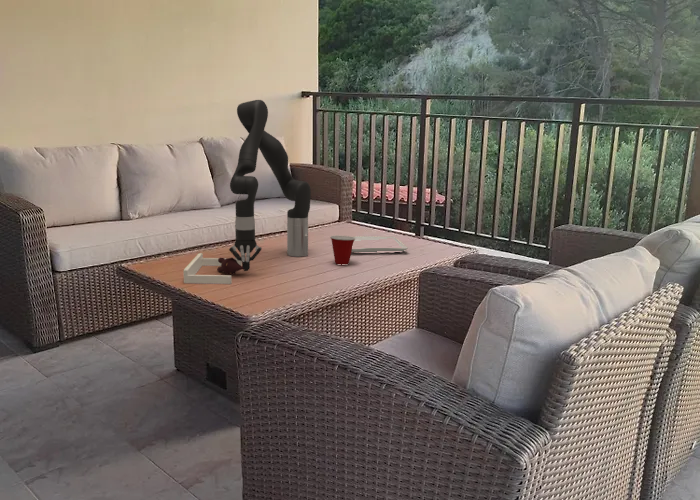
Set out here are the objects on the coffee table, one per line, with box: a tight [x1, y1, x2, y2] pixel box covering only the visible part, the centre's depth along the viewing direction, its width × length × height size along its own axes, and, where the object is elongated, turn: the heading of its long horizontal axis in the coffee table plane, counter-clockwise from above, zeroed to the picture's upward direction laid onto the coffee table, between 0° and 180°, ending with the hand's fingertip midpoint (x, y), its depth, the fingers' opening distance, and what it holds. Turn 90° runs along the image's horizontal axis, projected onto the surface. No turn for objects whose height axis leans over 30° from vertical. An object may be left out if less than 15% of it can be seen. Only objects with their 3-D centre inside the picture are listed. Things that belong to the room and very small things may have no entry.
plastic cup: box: [329, 234, 356, 266], centre depth 269 cm, size 11×11×12 cm
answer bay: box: [183, 252, 242, 285], centre depth 249 cm, size 18×27×5 cm, turn 1°
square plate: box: [351, 235, 409, 253], centre depth 300 cm, size 27×27×4 cm
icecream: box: [216, 257, 244, 276], centre depth 249 cm, size 7×7×15 cm
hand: (246, 270), depth 249 cm, fingers closed
